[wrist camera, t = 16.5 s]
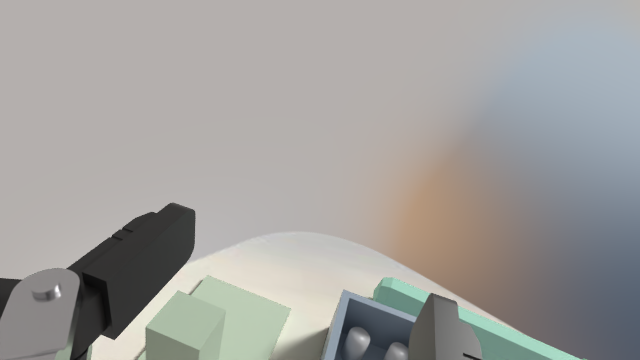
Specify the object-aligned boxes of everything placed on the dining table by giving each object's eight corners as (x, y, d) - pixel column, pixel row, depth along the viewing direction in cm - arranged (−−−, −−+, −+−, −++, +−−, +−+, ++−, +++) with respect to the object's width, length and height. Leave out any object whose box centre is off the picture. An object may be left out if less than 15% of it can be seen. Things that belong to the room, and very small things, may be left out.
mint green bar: (380, 275, 40) (620, 381, 34) (384, 262, 46) (590, 351, 40) (362, 321, 40) (595, 432, 35) (368, 303, 46) (569, 396, 41)
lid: (289, 313, 40) (310, 240, 35) (227, 453, 27) (245, 371, 22) (207, 279, 41) (215, 205, 36) (110, 398, 28) (102, 308, 23)
